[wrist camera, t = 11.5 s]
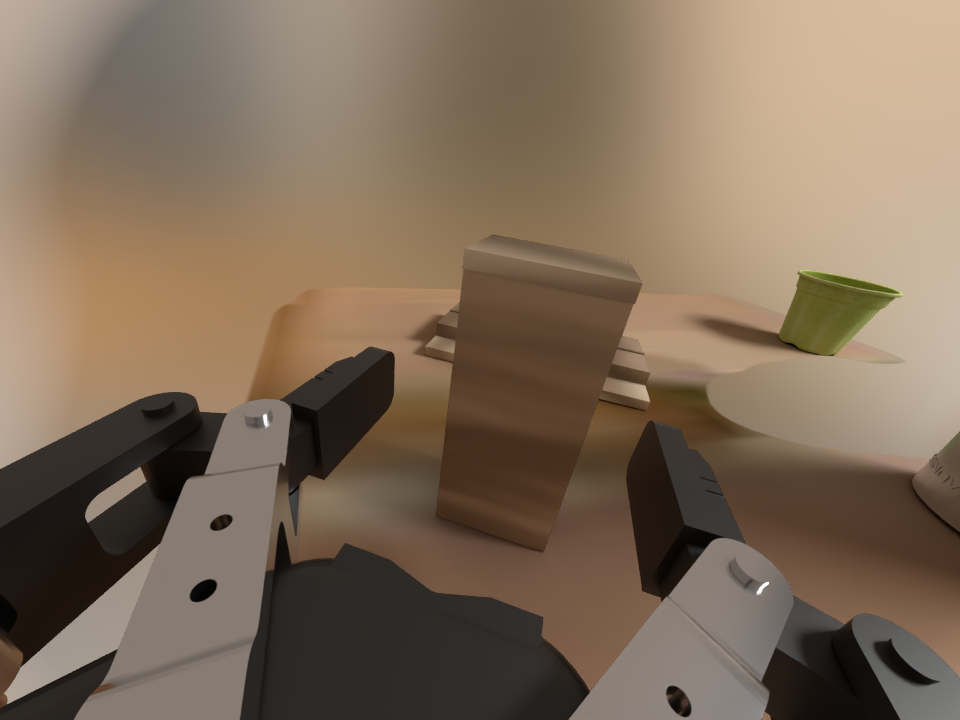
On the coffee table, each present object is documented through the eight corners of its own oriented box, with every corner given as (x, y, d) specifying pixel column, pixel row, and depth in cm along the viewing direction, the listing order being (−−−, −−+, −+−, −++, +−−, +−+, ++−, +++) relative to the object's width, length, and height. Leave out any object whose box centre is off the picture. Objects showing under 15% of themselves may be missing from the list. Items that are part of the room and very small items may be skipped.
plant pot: (870, 372, 40) (926, 300, 36) (775, 348, 43) (817, 279, 38) (832, 343, 48) (875, 281, 43) (754, 325, 50) (787, 265, 46)
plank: (543, 553, 15) (642, 283, 9) (435, 516, 16) (464, 248, 10) (550, 491, 18) (628, 259, 12) (459, 462, 19) (492, 234, 13)
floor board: (630, 357, 34) (638, 338, 33) (646, 410, 26) (656, 387, 25) (459, 318, 37) (461, 299, 36) (424, 354, 29) (425, 332, 28)
